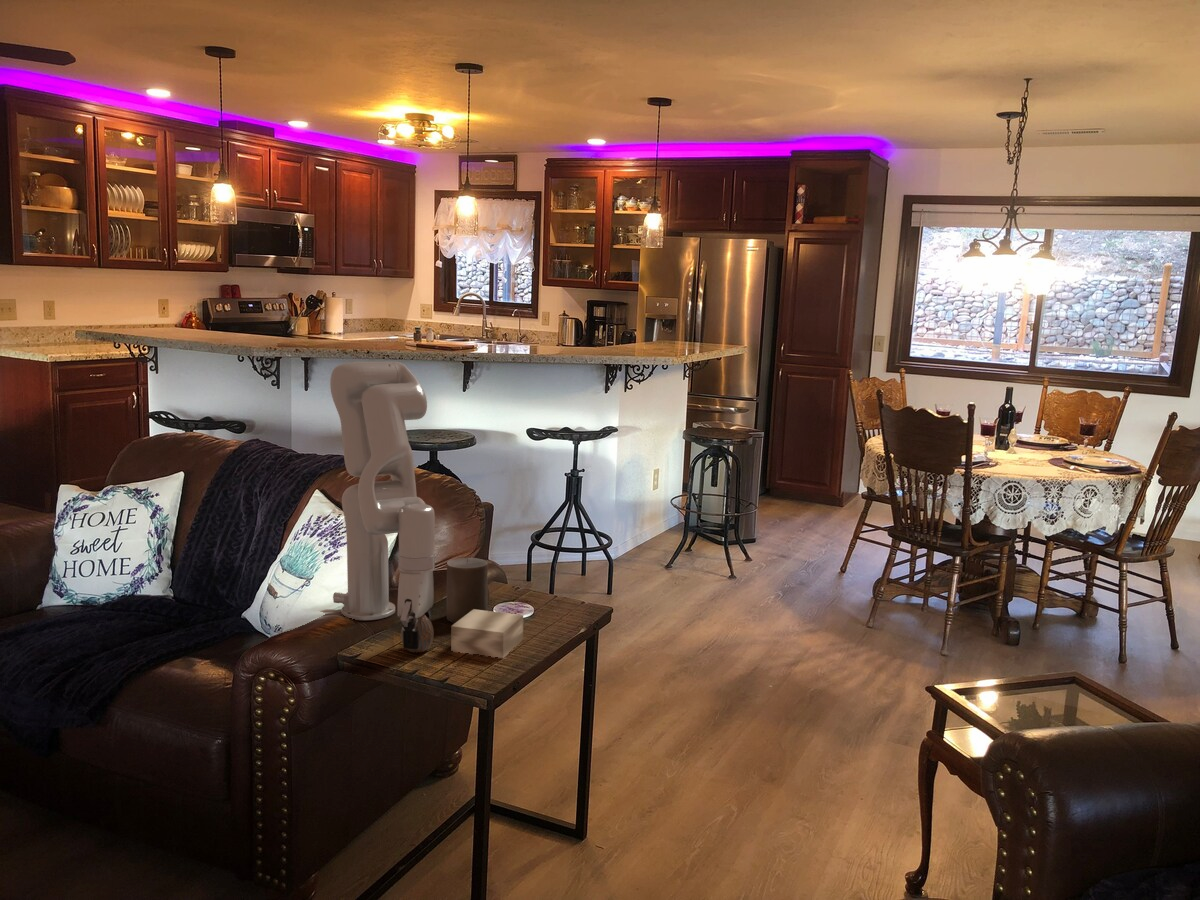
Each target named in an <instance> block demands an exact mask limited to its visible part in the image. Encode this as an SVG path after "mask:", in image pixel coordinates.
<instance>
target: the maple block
mask: <svg viewBox="0 0 1200 900" xmlns="http://www.w3.org/2000/svg"><path fill="white" fill-rule="evenodd" d="M450 628H451V630H450V632H451V633H450V634H451V635H450V647H451V648H450V652H451V651H453V652H452V653H458V652H460V653H459V654H465V653H469V654H468V655H473V654H479V655H478V656H480V655H485V656H484V657H488V656H491V657H490V658H495V657H498V658H497V659H504V658H506V657H507V656H508V654H510V653H511V652H512V651H513V650H514V649H515V648H516V647H517V646H519V644H520V643H521V642H522V641H523V640H524V614H515V613H508V612H502V611H491V610H487V611H484V610H476V609H473V610H472V611H470V612H469V613H468V614H467V615H465V616H464V617H463V618H461V619H460V620H459V621H457V622H456V623H453V624H452V625H451V626H450ZM514 647H515V648H514ZM513 648H514V649H513ZM511 650H512V651H511ZM510 651H511V652H510ZM509 652H510V653H509Z"/></svg>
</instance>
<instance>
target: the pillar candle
mask: <svg viewBox="0 0 1200 900" xmlns="http://www.w3.org/2000/svg"><path fill="white" fill-rule="evenodd" d="M488 568H489V567H488V561H486V559H482V558H477V557H463V558H462V557H459V558H454V559H451V560H448V561H447V562H446V612H445V613H446V620H447V621H448V622H449V621H450V623H453V624H455V623H456V622H457V621H459V620H460V619H461V618H463V617H464V616H465V615H467V614H468V613H469V612H470V611H472V610H473V609H476V610H484V611H488V590H489V589H488V578H489V577H488Z"/></svg>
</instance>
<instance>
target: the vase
mask: <svg viewBox="0 0 1200 900" xmlns="http://www.w3.org/2000/svg"><path fill="white" fill-rule="evenodd" d="M409 616H415V614H410V615H409ZM429 619H430V618H429ZM429 619H428V618H427V616H426V615H425V614H423V615H422V616H421V617H419V618H418V624H417V631H418V641H419V647H418V649H407V648H405V649H406V650H407V651H408V652H411V653H415V652H416V653H418V652H419V653H424V652H426V651H427V650H428V649H429V648H430V647H431V645H432V643H433V640H434V632H435V631H434V626H433V623H432V621H431V622H430V620H429ZM409 621H410V622H412V624H413V622H414V620H412V619H409ZM400 637H401V638H400V640H401V643H402V644H403V626H402V625H401V631H400ZM416 653H415V654H416Z"/></svg>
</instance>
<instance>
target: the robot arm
mask: <svg viewBox="0 0 1200 900" xmlns="http://www.w3.org/2000/svg"><path fill="white" fill-rule="evenodd" d="M329 381H330V382H329V383H330V384H329V386H330V387H329V388H330V394H331V398H332V401H333V403H334V406H335V409H336V411H337V414H338V416H339V421H340V429H341V430H340V431H341V439H342V449H343V458H344V464H345V465H344V466H345V468H346V471H347V473H348V475H350V476H352V477H356V478H359V479H358V483H356V484H353V485H351V486H349V487H347V488H346V489H345V490H344V492H343V493H342V496H341V507H342V512H343V517H344V524H345V533H346V565H347V566H346V567H347V570H346V571H347V574H346V575H347V592H346V593H343V592H333V595H332V600H333V603H334V604H342V605H343V606H342V607H341V615H342V614H343V615H344V616H347V617H349V618H352V619H351V620H353V619H355V620H354V621H376V620H381V619H384V618H385V619H386V618H388V617H390V616H393V615H394V614H395V613H397V617H399V619H400V622H401V627H402V626H403V643H402V647H403V648H404V649H406V648H407V649H418V647H419V641H418V631H417V624H418V618H419V617H421V616H422V615H423V614H425V615H426V616H427V618H428V619H429V620H430V622H431V623H432V611H431V609H432V607H433V606H434V594H435V593H434V591H435V589H434V588H435V586H434V573H433V571H434V570H435V568H436V567H435V566H436V551H435V550H436V549H435V547H436V539H435V538H436V536H435V535H436V534H435V530H436V526H435V524H436V523H435V521H436V520H435V519H436V517H435V514H436V513H435V510H434V507H432V506H431V505H429V504H426V502H425V501H424V500H423V499H422V498H421V497H419V496H417V486H416V475H415V473H416V472H415V464H414V457H413V456H414V455H413V450H412V447H411V445H410V442H409V437H408V433H407V427H406V421H414V420H415V421H416V420H417V421H418V420H420V419H423V418H424V417H425V416H426V413H427V410H428V401H427V400H428V399H427V395H426V392H425V391H424V389H423V386H422V385H421V382H419V380H418V379H417V377H416V376H415V375H414V374H413V372H412V371H411V370H410V369H409V368H408V367H407V365H405V364H404V363H403V362H400V361H392V360H391V361H353V362H346V363H342V364H339V365H337V366H336V367H334V368H333V370H332V371H331V375H330V379H329ZM379 476H380V477H382V476H390V479H391V480H385V481H376V477H379ZM388 534H398V570H399V571H400V572H399V579H398V588H397V589H398V590H397V608H396V605H395V603H393V602H390V600H389V599H390V597H389V595H390V593H389V590H390V589H389V583H390V582H389V541H388V537H387V536H386V535H388ZM396 609H397V612H396ZM410 614H415V616H409V615H410ZM343 615H342V616H343ZM344 616H343V617H344ZM349 618H348V619H349ZM409 619H412V620H414V622H413V624H412V622H410V621H409ZM407 649H406V650H407Z"/></svg>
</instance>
